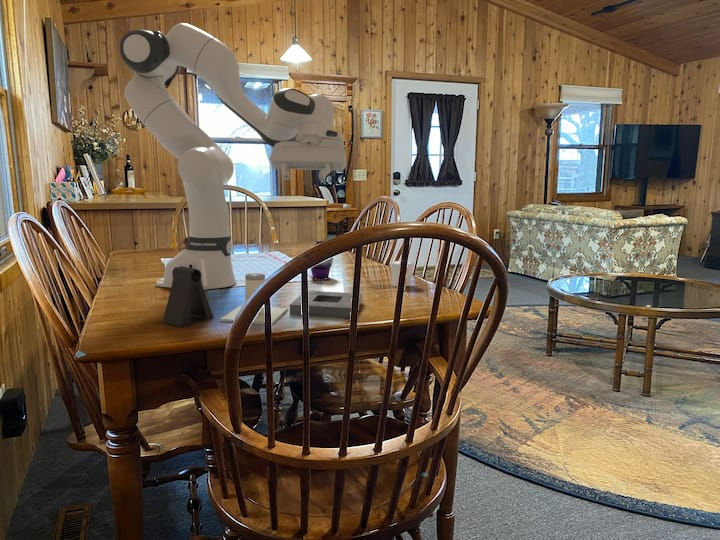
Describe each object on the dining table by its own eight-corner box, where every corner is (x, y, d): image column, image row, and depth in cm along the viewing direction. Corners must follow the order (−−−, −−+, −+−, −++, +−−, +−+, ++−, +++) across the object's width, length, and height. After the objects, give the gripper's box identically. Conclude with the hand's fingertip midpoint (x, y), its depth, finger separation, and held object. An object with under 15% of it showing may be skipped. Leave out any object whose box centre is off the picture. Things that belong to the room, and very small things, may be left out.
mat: (220, 321, 117) (220, 318, 117) (240, 307, 129) (240, 305, 129) (272, 324, 116) (272, 322, 115) (287, 310, 127) (287, 308, 127)
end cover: (241, 314, 120) (242, 275, 119) (249, 309, 125) (249, 272, 123) (260, 316, 120) (260, 277, 118) (267, 311, 124) (267, 274, 122)
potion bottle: (314, 274, 173) (314, 237, 171) (338, 276, 170) (339, 239, 167) (302, 278, 165) (302, 240, 163) (327, 281, 162) (327, 242, 160)
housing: (289, 314, 124) (289, 304, 123) (305, 299, 138) (305, 290, 138) (352, 318, 122) (353, 308, 121) (362, 303, 136) (362, 293, 136)
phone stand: (180, 328, 112) (178, 272, 110) (162, 323, 115) (160, 269, 113) (213, 318, 119) (211, 266, 117) (196, 314, 123) (194, 263, 120)
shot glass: (411, 288, 155) (412, 264, 154) (388, 286, 156) (389, 263, 155) (414, 283, 161) (414, 261, 160) (391, 282, 163) (392, 259, 161)
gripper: (273, 132, 143) (262, 168, 135) (347, 132, 140) (340, 170, 132) (278, 149, 148) (267, 185, 140) (350, 150, 145) (343, 187, 138)
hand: (303, 178), depth 136 cm, fingers open, 8 cm apart
